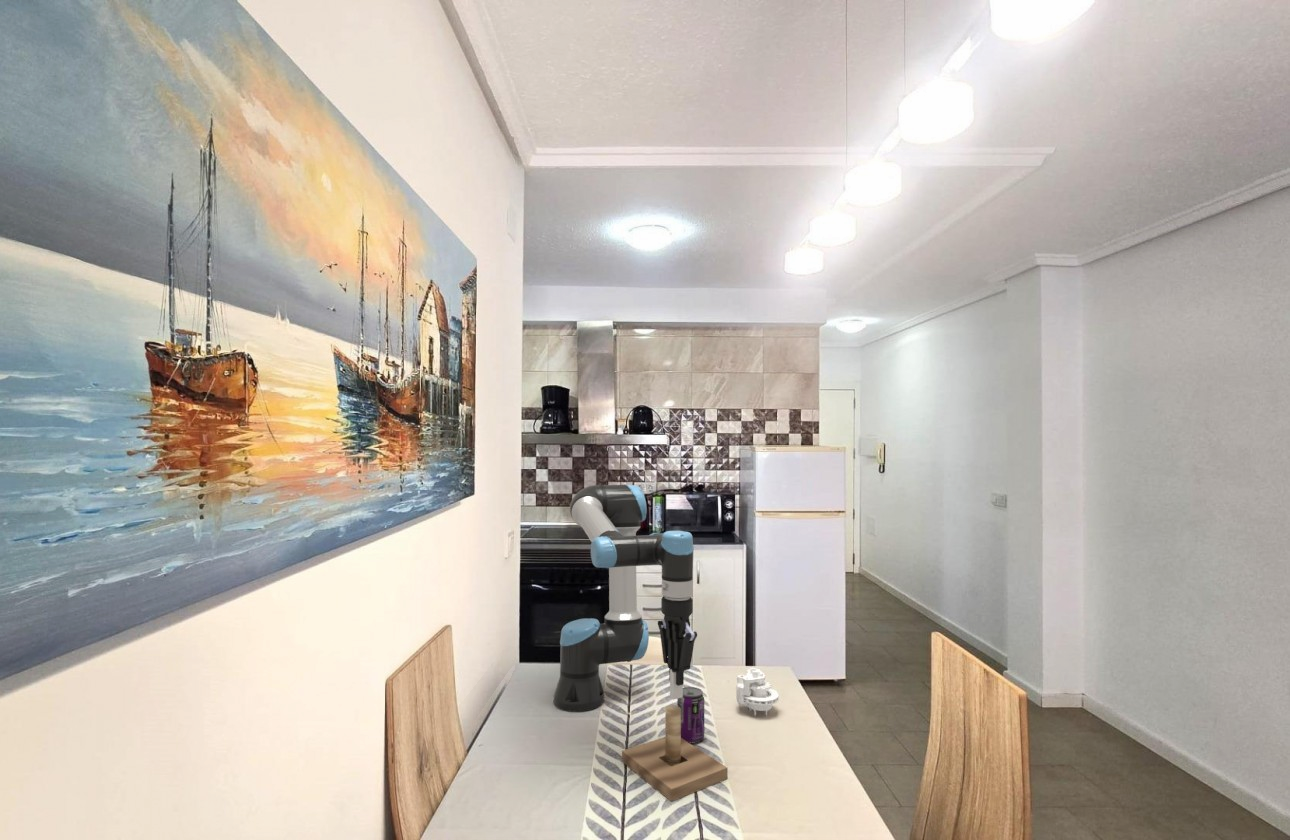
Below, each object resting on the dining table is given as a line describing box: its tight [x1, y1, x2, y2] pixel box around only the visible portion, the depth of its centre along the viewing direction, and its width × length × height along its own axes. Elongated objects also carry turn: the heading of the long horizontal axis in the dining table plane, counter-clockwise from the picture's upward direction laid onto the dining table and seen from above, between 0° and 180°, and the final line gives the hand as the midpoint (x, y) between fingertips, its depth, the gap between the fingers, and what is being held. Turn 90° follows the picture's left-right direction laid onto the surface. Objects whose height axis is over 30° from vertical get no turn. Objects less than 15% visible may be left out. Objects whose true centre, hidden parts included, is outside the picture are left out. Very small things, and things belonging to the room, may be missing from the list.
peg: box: [664, 704, 681, 766], centre depth 139 cm, size 4×4×14 cm
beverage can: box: [676, 686, 705, 744], centre depth 154 cm, size 7×7×12 cm
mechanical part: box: [735, 667, 779, 717], centre depth 171 cm, size 11×12×12 cm
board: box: [621, 736, 729, 802], centre depth 138 cm, size 20×16×2 cm
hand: (676, 697), depth 140 cm, fingers closed
